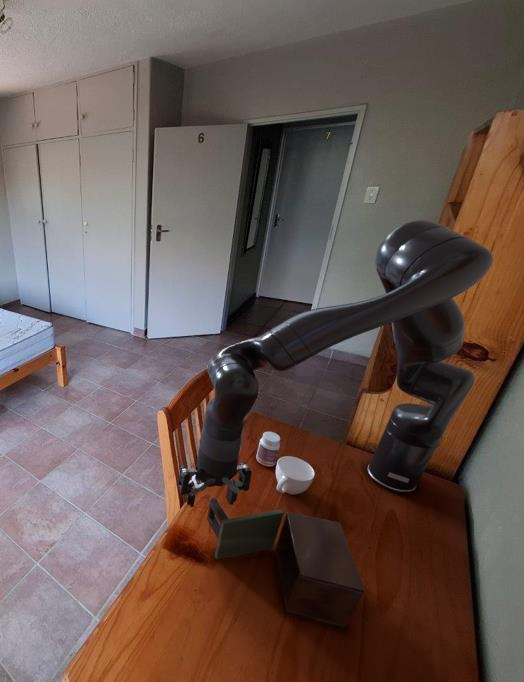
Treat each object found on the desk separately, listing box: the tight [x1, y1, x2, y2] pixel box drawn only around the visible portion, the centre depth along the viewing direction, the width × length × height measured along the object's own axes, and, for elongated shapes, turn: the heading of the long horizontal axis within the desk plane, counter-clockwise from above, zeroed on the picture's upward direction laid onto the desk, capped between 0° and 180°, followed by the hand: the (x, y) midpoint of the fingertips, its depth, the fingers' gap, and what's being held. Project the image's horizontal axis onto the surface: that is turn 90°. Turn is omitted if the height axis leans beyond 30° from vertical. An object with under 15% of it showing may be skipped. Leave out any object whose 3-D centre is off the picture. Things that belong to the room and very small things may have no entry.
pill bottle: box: [255, 431, 281, 467], centre depth 96 cm, size 5×5×8 cm
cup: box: [275, 455, 316, 496], centre depth 87 cm, size 8×10×7 cm
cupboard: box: [274, 511, 366, 630], centre depth 67 cm, size 9×13×12 cm
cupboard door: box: [206, 497, 285, 561], centre depth 76 cm, size 7×13×11 cm, turn 99°
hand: (210, 502), depth 78 cm, fingers open, 8 cm apart
